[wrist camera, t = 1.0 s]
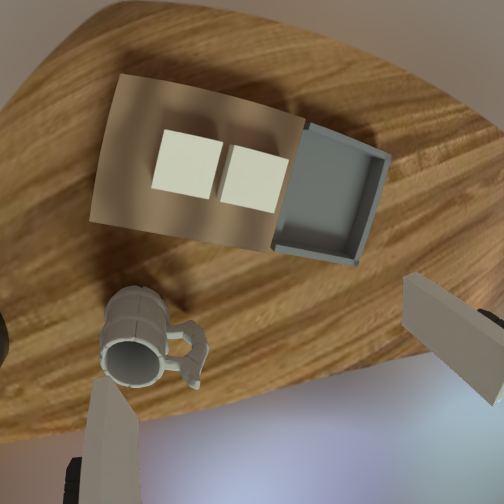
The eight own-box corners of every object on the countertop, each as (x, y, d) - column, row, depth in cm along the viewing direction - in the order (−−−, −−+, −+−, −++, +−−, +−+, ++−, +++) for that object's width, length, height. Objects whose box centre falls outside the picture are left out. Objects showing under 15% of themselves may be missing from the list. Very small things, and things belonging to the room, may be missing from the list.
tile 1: (216, 196, 29) (220, 201, 27) (229, 144, 28) (234, 145, 26) (266, 207, 31) (274, 213, 29) (279, 157, 30) (289, 159, 27)
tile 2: (153, 184, 28) (151, 188, 25) (165, 130, 26) (164, 129, 24) (205, 194, 29) (208, 199, 27) (218, 142, 28) (223, 142, 25)
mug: (108, 277, 33) (85, 338, 22) (208, 291, 37) (226, 354, 26) (106, 333, 36) (90, 401, 25) (198, 344, 39) (211, 413, 28)
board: (98, 212, 31) (89, 221, 27) (126, 81, 27) (120, 73, 23) (258, 241, 36) (268, 253, 33) (291, 120, 32) (305, 118, 29)
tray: (266, 242, 37) (274, 251, 34) (299, 123, 33) (310, 122, 30) (345, 258, 40) (357, 266, 37) (377, 153, 36) (392, 155, 33)
